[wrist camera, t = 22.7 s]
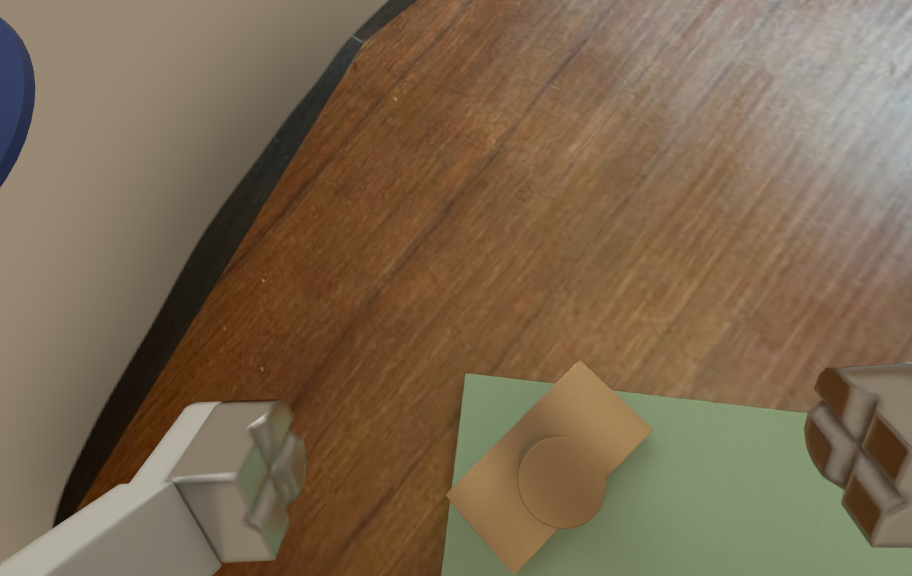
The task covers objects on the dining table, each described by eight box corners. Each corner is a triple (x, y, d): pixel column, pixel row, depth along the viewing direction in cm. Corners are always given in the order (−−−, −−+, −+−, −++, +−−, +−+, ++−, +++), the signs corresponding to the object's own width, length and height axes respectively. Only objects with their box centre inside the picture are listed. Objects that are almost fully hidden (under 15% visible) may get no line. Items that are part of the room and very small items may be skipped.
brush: (514, 560, 28) (509, 656, 16) (452, 488, 29) (406, 529, 18) (640, 429, 29) (719, 432, 17) (574, 365, 30) (606, 328, 18)
